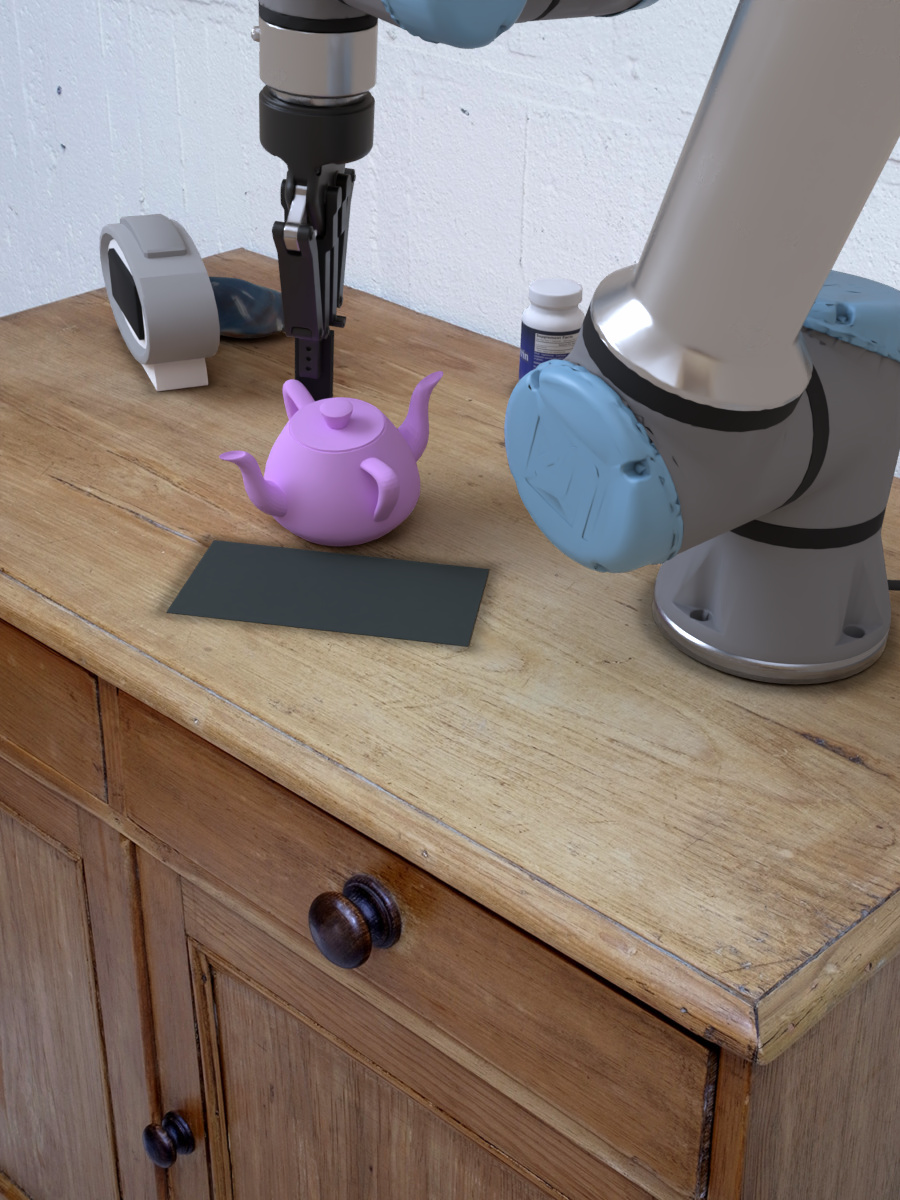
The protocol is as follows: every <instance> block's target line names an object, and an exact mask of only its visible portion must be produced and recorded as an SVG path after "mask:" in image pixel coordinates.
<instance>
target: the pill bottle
mask: <svg viewBox="0 0 900 1200" xmlns="http://www.w3.org/2000/svg"><path fill="white" fill-rule="evenodd" d="M583 291H584V290H583V285H582V284H581V283H579V282H578V281H576V280H573V279H569V278H564V277H543V278H538V279H535V280H534V281H532V282H530V284H529V286H528V297H527V298H528V301H529V302H530V305H529V306H527V307H526V308H525V309H524V310H523V313H522V314H521V315H522V316H521V321H520V322H521V323H520V324H521V325H520V344H519V345H520V346H519V362H518V363H519V366H518V381H517V383H518V382H519V381H520V379H522V378H523V377H524V376H525V375H526V374H527V373H529V372H530V371H532V370H534V369H536V367H537V366H538V365H539V364H541V363H543V362H546V361H549V360H552V359H558V360H563V359H565V358H566V357H567V356H568V355H569V354H570V352H571V351H572V349H573V347H574V345H575V342H576V340H577V337H578V334H579V332H580V329H581V326H582V323H583V320H584V318H585V316H586V314H585V313H584V311H583V310H582V309H581V308H580V307H579V305H580V304H581V303H582V301H583Z"/></svg>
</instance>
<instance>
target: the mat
mask: <svg viewBox="0 0 900 1200" xmlns="http://www.w3.org/2000/svg"><path fill="white" fill-rule="evenodd" d="M489 573H490V568H484V567H474V566H466V565H465V566H464V565H456V564H455V565H454V564H446V563H437V562H428V561H427V562H426V561H418V560H408V559H401V558H400V559H398V558H389V557H380V556H372V555H371V556H369V555H361V554H352V553H351V554H350V553H340V552H332V551H323V550H315V549H314V550H312V549H305V548H295V547H283V546H274V545H265V544H257V543H256V544H254V543H246V542H237V541H236V542H235V541H227V540H217V539H213V540H212V541H211V543H210V545H209V547H208V548H207V549H206V550H205V553H204V554H203V556H202V557H201V559H200V560H199V562H198V563H197V565H196V566H195V568H194V569H193V571H192V572H191V574H190V575H189V577H188V579H187V580H186V581H185V583H184V584H183V586H182V587H181V589H180V590H179V592H178V594H177V595H176V597H175V598H174V599H173V601H172V603H171V604H170V606H169V607H168V609H167V611H166V612H165V613H166V614H172V615H173V614H174V615H179V616H180V615H182V616H191V617H198V618H208V619H216V620H226V621H234V622H243V623H250V624H262V625H270V626H278V627H279V626H280V627H288V628H296V629H297V628H298V629H305V630H314V631H321V632H332V633H341V634H350V635H358V636H368V637H376V638H385V639H393V640H403V641H412V642H419V643H428V644H429V643H431V644H439V645H448V646H456V647H457V646H458V647H466V648H469V645H470V642H471V637H472V634H473V630H474V627H475V624H476V619H477V616H478V613H479V608H480V605H481V602H482V597H483V594H484V590H485V586H486V582H487V580H488V576H489Z"/></svg>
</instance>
